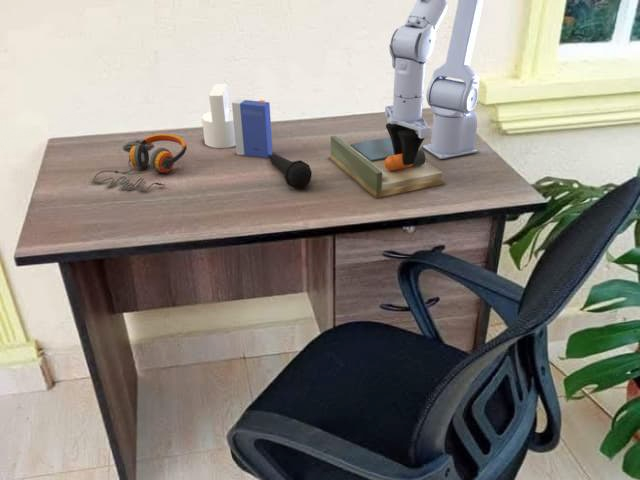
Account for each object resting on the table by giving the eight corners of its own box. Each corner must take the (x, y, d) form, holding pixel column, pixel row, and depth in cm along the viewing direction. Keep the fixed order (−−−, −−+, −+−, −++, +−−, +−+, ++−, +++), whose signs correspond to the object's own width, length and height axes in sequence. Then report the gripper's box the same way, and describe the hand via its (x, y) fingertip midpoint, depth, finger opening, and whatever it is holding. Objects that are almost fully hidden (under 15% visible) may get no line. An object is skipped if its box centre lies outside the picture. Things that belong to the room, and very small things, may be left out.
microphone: (263, 172, 148) (297, 197, 132) (253, 150, 145) (286, 172, 129) (284, 161, 149) (320, 184, 133) (274, 138, 146) (310, 158, 129)
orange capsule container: (418, 161, 138) (418, 147, 136) (425, 166, 136) (426, 152, 134) (381, 168, 135) (381, 154, 134) (388, 174, 133) (389, 159, 131)
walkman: (272, 153, 149) (269, 100, 142) (267, 158, 147) (264, 104, 140) (241, 149, 152) (236, 97, 144) (236, 154, 149) (231, 101, 142)
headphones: (82, 172, 136) (137, 120, 147) (92, 193, 139) (144, 141, 151) (149, 186, 130) (201, 131, 141) (157, 207, 134) (207, 152, 145)
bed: (391, 147, 151) (392, 125, 148) (442, 184, 135) (444, 160, 132) (330, 159, 146) (330, 136, 143) (376, 198, 130) (377, 173, 127)
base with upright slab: (240, 147, 153) (236, 95, 145) (202, 148, 153) (195, 96, 146) (244, 133, 160) (240, 83, 153) (207, 134, 160) (201, 84, 153)
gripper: (372, 86, 131) (370, 152, 139) (408, 107, 120) (404, 177, 128) (403, 81, 133) (400, 146, 141) (442, 102, 122) (435, 171, 130)
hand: (404, 161), depth 135 cm, fingers closed on orange capsule container, 3 cm apart
